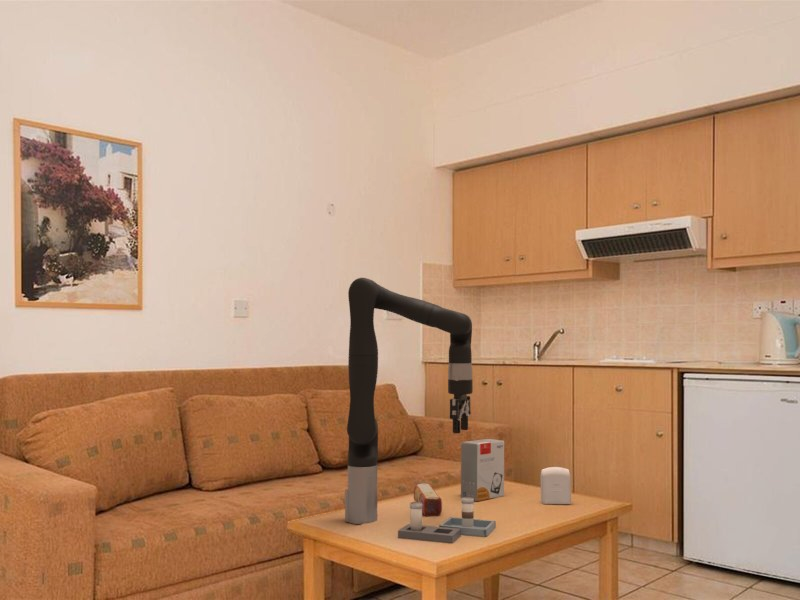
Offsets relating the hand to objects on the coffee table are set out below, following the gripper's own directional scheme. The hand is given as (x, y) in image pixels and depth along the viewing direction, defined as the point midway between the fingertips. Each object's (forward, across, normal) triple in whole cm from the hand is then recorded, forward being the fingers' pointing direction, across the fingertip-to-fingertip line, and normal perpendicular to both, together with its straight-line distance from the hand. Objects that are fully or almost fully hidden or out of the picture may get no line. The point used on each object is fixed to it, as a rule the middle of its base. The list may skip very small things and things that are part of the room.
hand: (460, 431), depth 226 cm
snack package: (+29, -17, -16) cm, 37 cm away
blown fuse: (+28, +7, +4) cm, 29 cm away
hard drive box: (+28, -41, -4) cm, 50 cm away
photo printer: (+28, -40, +22) cm, 54 cm away
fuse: (+28, +18, -8) cm, 34 cm away
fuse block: (+28, +18, -4) cm, 34 cm away
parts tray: (+28, +7, +4) cm, 29 cm away
